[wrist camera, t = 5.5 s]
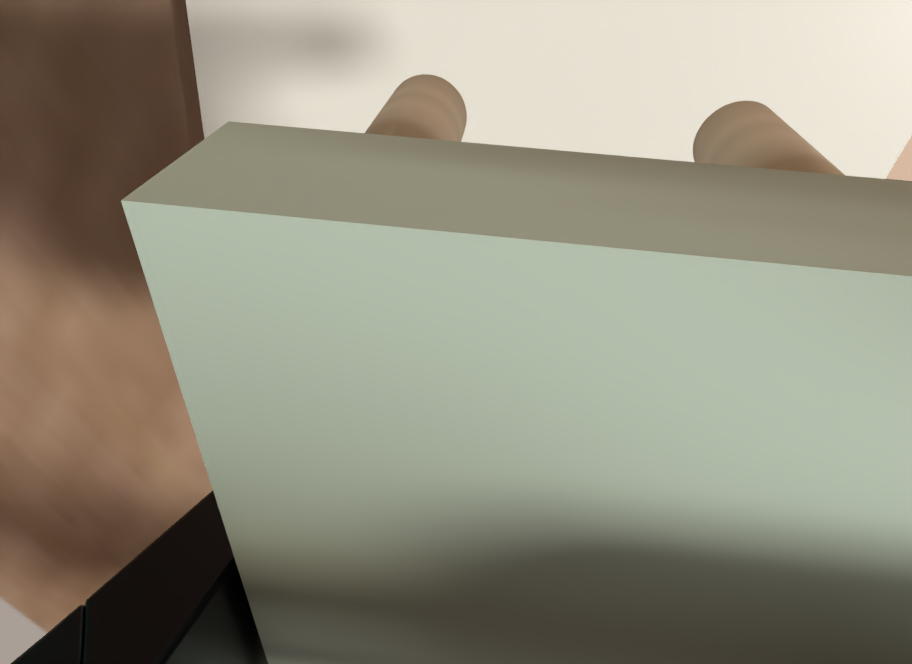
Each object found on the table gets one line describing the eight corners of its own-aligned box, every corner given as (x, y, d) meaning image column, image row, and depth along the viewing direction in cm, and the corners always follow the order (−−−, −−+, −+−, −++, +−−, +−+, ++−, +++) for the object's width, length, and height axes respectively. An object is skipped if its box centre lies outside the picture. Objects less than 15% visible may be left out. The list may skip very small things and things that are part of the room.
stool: (649, 512, 14) (711, 837, 9) (381, 480, 14) (304, 776, 9) (837, 60, 8) (1321, 316, 3) (362, 23, 8) (121, 200, 3)
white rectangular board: (1034, -108, 13) (1058, -109, 13) (759, 359, 22) (766, 373, 21) (169, -247, 13) (150, -255, 13) (233, 271, 22) (223, 282, 21)
